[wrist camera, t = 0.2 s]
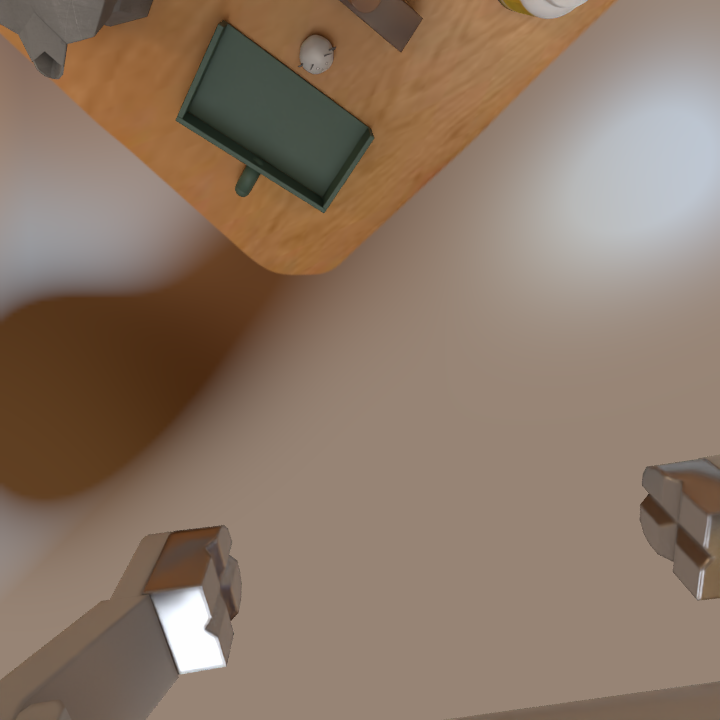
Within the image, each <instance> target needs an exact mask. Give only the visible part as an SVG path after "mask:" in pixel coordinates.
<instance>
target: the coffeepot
mask: <svg viewBox="0 0 720 720" xmlns="http://www.w3.org/2000/svg"><path fill="white" fill-rule="evenodd" d="M152 1H153V0H0V24H1V25H3V26H5V27H6V28H8V29H10V30H11V31H13V32H15V33H17V34H18V35H19V37H20V39H21V41H22V43H23V45H24V47H25V49H26V51H27V53H28V55H29V57H30V58H31V60H32V62H33V63H34V65H35V67H36V69H37V70H38V71H39V72H40V73H41V74H43V75H44V76H46V77H49V78H52V79H59V78H60V77H61V76H62V75H63V71H64V64H65V57H66V51H67V44H68V43H73V42H77V41H81V40H84V39H88V38H91V37H94V36H95V35H96V34H97V33H98V32H99V30H100V29H101V28H102V26H103V25H107V26H114V25H117V24H121V23H125V22H129V21H132V20H136V19H140V18H143V17H147V15H148V12H149V9H150V6H151V4H152Z"/></svg>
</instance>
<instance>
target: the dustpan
mask: <svg viewBox="0 0 720 720" xmlns="http://www.w3.org/2000/svg"><path fill="white" fill-rule="evenodd" d="M189 112H190V113H189ZM192 114H193V115H192ZM195 116H196V117H195ZM198 118H199V119H198ZM200 119H201V120H200ZM176 121H177V122H179V123H180V124H182V125H184V126H185V127H187V128H188V129H190V130H192V131H193V132H195V133H196V134H198V135H200V136H201V137H203V138H204V139H206V140H208V141H209V142H211V143H212V144H214V145H216V146H217V147H219V148H220V149H222V150H224V151H225V152H227V153H228V154H230V155H232V156H233V157H235V158H236V159H238V160H240V161H241V162H243V163H244V164H246V165H247V166H246V168H245V170H244V171H243V173H242V175H241V177H240V179H239V180H238V182H237V184H236V186H235V191H236V193H237V194H238V195H239V196H241V197H245V196H247V195H248V194H249V193H250V191H251V190H252V188H253V186H254V184H255V182H256V181H257V179H258V177H259V175H260V174H262V175H264V176H265V177H267V178H268V179H270V180H272V181H273V182H275V183H276V184H278V185H280V186H281V187H283V188H284V189H286V190H288V191H289V192H291V193H292V194H294V195H296V196H297V197H299V198H300V199H302V200H304V201H305V202H307V203H308V204H310V205H312V206H313V207H315V208H316V209H318V210H320V211H321V212H323V213H325V211H326V209H327V208H328V207H329V205H330V204H331V202H332V201H333V199H334V198H335V196H336V195H337V193H338V192H339V190H340V189H341V187H342V186H343V184H344V183H345V181H346V180H347V178H348V177H349V175H350V174H351V172H352V171H353V169H354V168H355V166H356V165H357V163H358V162H359V160H360V159H361V157H362V156H363V154H364V153H365V151H366V150H367V148H368V147H369V145H370V144H371V143H372V141H373V140H374V136H373V133H372V130H371V129H370V128H369V127H367V126H366V125H365V124H363V123H362V122H361V121H359V120H358V119H357V118H355V117H354V116H353V115H351V114H350V113H349V112H347V111H346V110H345V109H343V108H342V107H340V106H339V105H338V104H336V103H335V102H334V101H332V100H331V99H330V98H328V97H327V96H326V95H324V94H323V93H322V92H320V91H319V90H318V89H316V88H315V87H313V86H312V85H311V84H309V83H308V82H307V81H305V80H304V79H303V78H301V77H300V76H299V75H297V74H296V73H295V72H293V71H292V70H290V69H289V68H288V67H286V66H285V65H284V64H282V63H281V62H280V61H278V60H277V59H276V58H274V57H273V56H272V55H270V54H269V53H268V52H266V51H265V50H263V49H262V48H261V47H259V46H258V45H257V44H255V43H254V42H253V41H251V40H250V39H249V38H247V37H246V36H245V35H243V34H242V33H241V32H239V31H238V30H236V29H235V28H234V27H232V26H231V25H230V24H228V23H227V22H226V21H224V20H223V21H222V22H220V23H219V24H218V26H217V28H216V30H215V33H214V35H213V37H212V39H211V42H210V44H209V46H208V48H207V51H206V53H205V55H204V57H203V60H202V62H201V64H200V66H199V69H198V71H197V73H196V75H195V78H194V80H193V82H192V84H191V87H190V89H189V91H188V93H187V95H186V98H185V100H184V102H183V104H182V107H181V109H180V111H179V113H178V116H177V118H176ZM203 121H204V122H203ZM206 123H207V124H206ZM209 125H210V126H209ZM211 126H212V127H211ZM214 128H215V129H214ZM217 130H218V131H217ZM220 132H221V133H220ZM225 135H226V136H225ZM228 137H229V138H228ZM231 139H232V140H231ZM234 141H235V142H234ZM236 142H237V143H236ZM239 144H240V145H239ZM242 146H243V147H242ZM245 148H246V149H245ZM247 149H248V150H247ZM250 151H251V152H250ZM253 153H254V154H253ZM256 155H257V156H256ZM261 158H262V159H261ZM264 160H265V161H264ZM267 162H268V163H267ZM270 164H271V165H270ZM272 165H273V166H272ZM275 167H276V168H275ZM278 169H279V170H278ZM281 171H282V172H281ZM283 172H284V173H283ZM286 174H287V175H286ZM289 176H290V177H289ZM292 178H293V179H292ZM297 181H298V182H297ZM300 183H301V184H300ZM303 185H304V186H303ZM306 187H307V188H306ZM308 188H309V189H308ZM311 190H312V191H311ZM314 192H315V193H314ZM317 194H318V195H317Z"/></svg>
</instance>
